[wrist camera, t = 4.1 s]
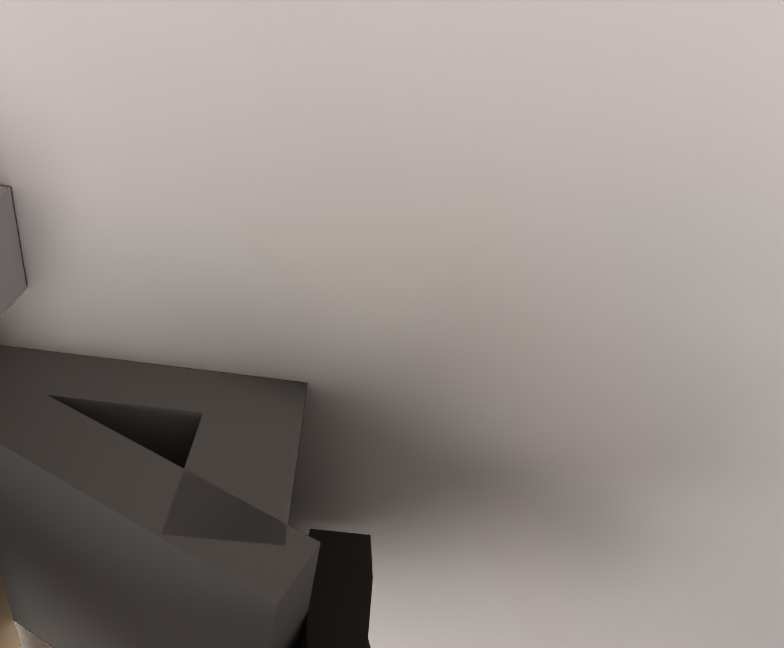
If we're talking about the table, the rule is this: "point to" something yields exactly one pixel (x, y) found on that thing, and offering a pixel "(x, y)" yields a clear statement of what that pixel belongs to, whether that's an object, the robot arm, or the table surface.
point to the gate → (7, 623)
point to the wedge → (150, 504)
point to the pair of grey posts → (9, 254)
